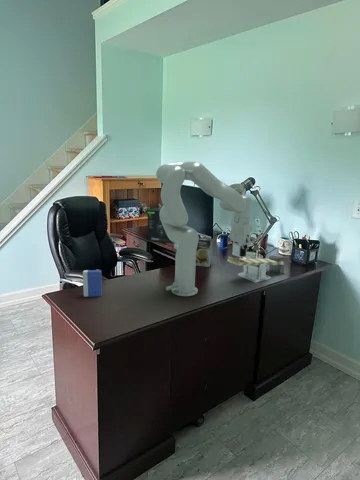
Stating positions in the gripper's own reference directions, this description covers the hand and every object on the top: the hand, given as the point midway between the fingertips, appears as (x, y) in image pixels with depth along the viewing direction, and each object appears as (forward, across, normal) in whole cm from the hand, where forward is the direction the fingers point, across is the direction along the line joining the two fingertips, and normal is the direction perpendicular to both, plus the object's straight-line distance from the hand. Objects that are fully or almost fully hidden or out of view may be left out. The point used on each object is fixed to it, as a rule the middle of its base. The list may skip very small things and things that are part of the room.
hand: (239, 254), depth 174 cm
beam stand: (+15, 0, +19) cm, 24 cm away
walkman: (+15, -19, -71) cm, 75 cm away
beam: (+8, 0, +13) cm, 15 cm away
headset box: (+15, -95, +12) cm, 97 cm away
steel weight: (+1, 0, 0) cm, 1 cm away
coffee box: (+15, -31, +1) cm, 35 cm away
